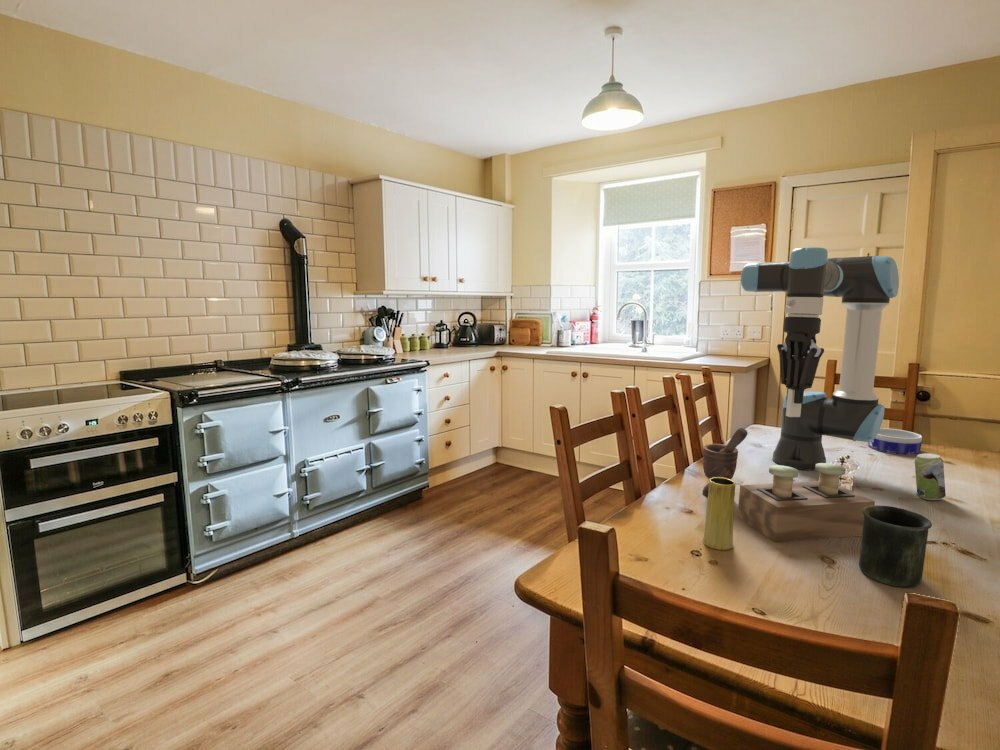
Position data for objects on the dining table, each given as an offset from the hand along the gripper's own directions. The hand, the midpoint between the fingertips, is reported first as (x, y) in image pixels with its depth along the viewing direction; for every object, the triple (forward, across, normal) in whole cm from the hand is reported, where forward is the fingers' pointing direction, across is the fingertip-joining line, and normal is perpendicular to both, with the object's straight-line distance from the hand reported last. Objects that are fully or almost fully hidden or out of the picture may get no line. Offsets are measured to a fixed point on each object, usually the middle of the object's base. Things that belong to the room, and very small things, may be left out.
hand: (792, 416), depth 130 cm
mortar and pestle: (+25, -16, -6) cm, 30 cm away
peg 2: (+19, +5, +8) cm, 21 cm away
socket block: (+25, +4, +2) cm, 26 cm away
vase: (+26, +11, -23) cm, 37 cm away
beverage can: (+24, -7, +48) cm, 54 cm away
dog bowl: (+23, -50, +79) cm, 96 cm away
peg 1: (+19, +5, -4) cm, 20 cm away
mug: (+26, +26, +4) cm, 37 cm away
